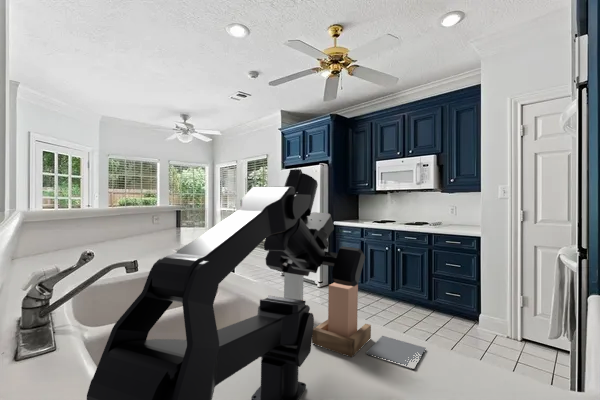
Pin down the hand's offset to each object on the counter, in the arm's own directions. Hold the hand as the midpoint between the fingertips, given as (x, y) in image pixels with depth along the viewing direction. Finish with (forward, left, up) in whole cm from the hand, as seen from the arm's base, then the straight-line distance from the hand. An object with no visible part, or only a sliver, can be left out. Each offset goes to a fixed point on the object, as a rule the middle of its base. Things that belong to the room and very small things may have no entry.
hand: (327, 277), depth 60 cm
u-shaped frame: (+4, -2, -14) cm, 15 cm away
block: (+4, -2, -14) cm, 15 cm away
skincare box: (+13, +13, -14) cm, 23 cm away
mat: (+3, -13, -14) cm, 20 cm away
